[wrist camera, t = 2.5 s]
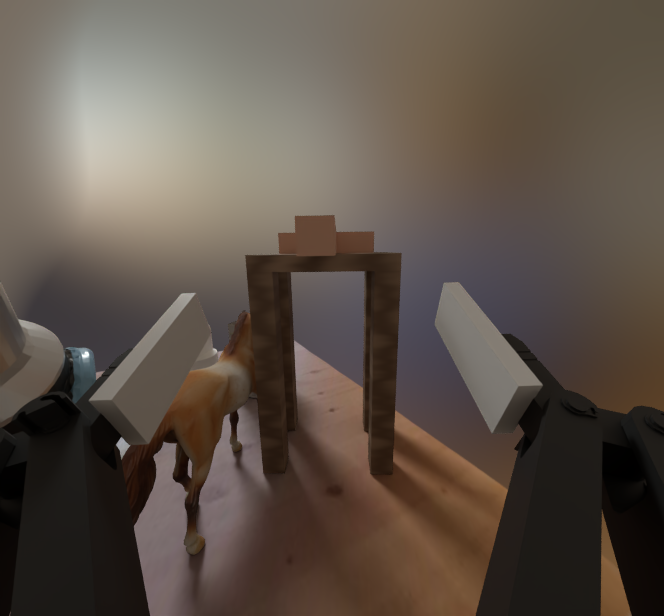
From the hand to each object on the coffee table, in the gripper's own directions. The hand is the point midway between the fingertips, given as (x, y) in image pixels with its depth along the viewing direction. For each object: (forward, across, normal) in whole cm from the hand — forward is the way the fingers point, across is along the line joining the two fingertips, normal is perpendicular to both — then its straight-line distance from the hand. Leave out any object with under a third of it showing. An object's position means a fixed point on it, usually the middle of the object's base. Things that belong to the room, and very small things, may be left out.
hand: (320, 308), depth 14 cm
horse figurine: (+5, -18, -31) cm, 37 cm away
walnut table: (+11, -1, -34) cm, 36 cm away
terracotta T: (+18, 0, -4) cm, 18 cm away
